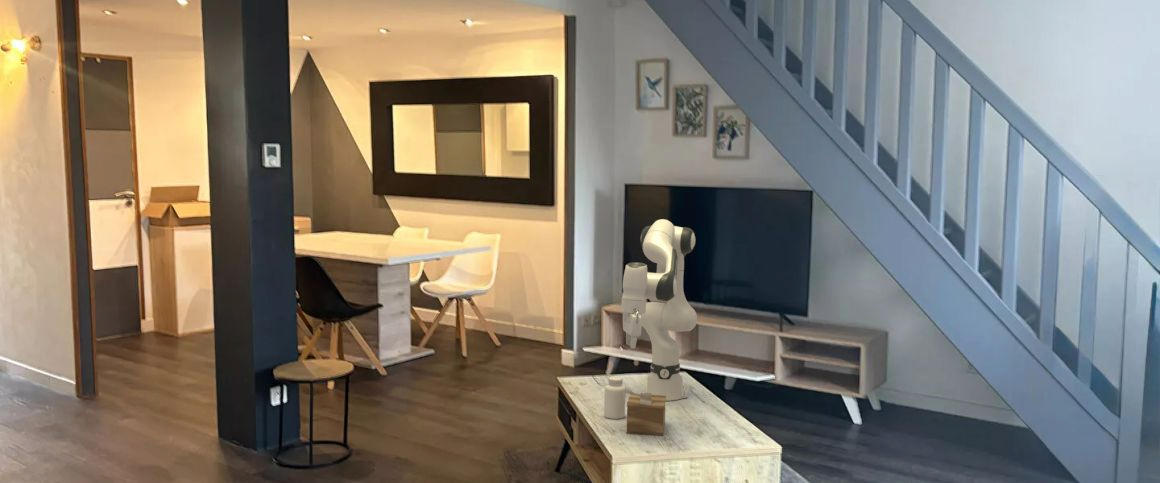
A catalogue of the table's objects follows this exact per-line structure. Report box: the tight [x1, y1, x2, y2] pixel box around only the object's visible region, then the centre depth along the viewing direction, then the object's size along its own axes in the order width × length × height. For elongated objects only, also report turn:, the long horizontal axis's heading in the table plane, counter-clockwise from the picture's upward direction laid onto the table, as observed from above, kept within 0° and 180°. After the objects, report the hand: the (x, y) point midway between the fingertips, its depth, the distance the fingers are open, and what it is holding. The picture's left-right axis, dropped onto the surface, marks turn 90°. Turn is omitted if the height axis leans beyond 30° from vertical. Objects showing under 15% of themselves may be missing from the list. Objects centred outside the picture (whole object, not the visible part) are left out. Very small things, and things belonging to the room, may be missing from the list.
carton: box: [626, 405, 666, 437], centre depth 334 cm, size 14×13×10 cm
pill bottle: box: [603, 376, 626, 420], centre depth 348 cm, size 8×8×15 cm
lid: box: [626, 392, 666, 408], centre depth 333 cm, size 14×13×4 cm
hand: (630, 346), depth 325 cm, fingers open, 8 cm apart
